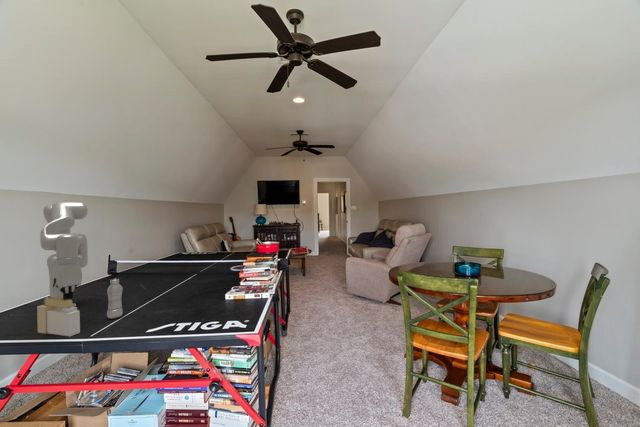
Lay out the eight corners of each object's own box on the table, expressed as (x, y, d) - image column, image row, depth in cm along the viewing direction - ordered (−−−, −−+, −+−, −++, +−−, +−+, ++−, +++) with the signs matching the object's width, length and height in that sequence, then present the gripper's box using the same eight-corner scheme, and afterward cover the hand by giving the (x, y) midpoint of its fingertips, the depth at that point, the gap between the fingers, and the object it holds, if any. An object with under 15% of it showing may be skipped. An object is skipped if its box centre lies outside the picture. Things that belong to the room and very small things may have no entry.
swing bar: (42, 304, 128) (42, 298, 128) (49, 303, 130) (49, 296, 130) (65, 307, 123) (65, 300, 123) (71, 305, 126) (71, 298, 126)
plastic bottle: (112, 315, 147) (111, 278, 147) (125, 315, 147) (125, 277, 147) (103, 320, 140) (103, 280, 140) (118, 319, 141) (117, 280, 141)
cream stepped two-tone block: (37, 332, 127) (37, 306, 127) (50, 328, 132) (50, 302, 132) (68, 336, 122) (68, 309, 122) (81, 332, 126) (80, 305, 126)
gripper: (79, 258, 137) (79, 295, 137) (42, 264, 122) (42, 305, 122) (90, 258, 135) (91, 296, 135) (54, 264, 120) (55, 306, 121)
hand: (68, 300), depth 129 cm, fingers closed
